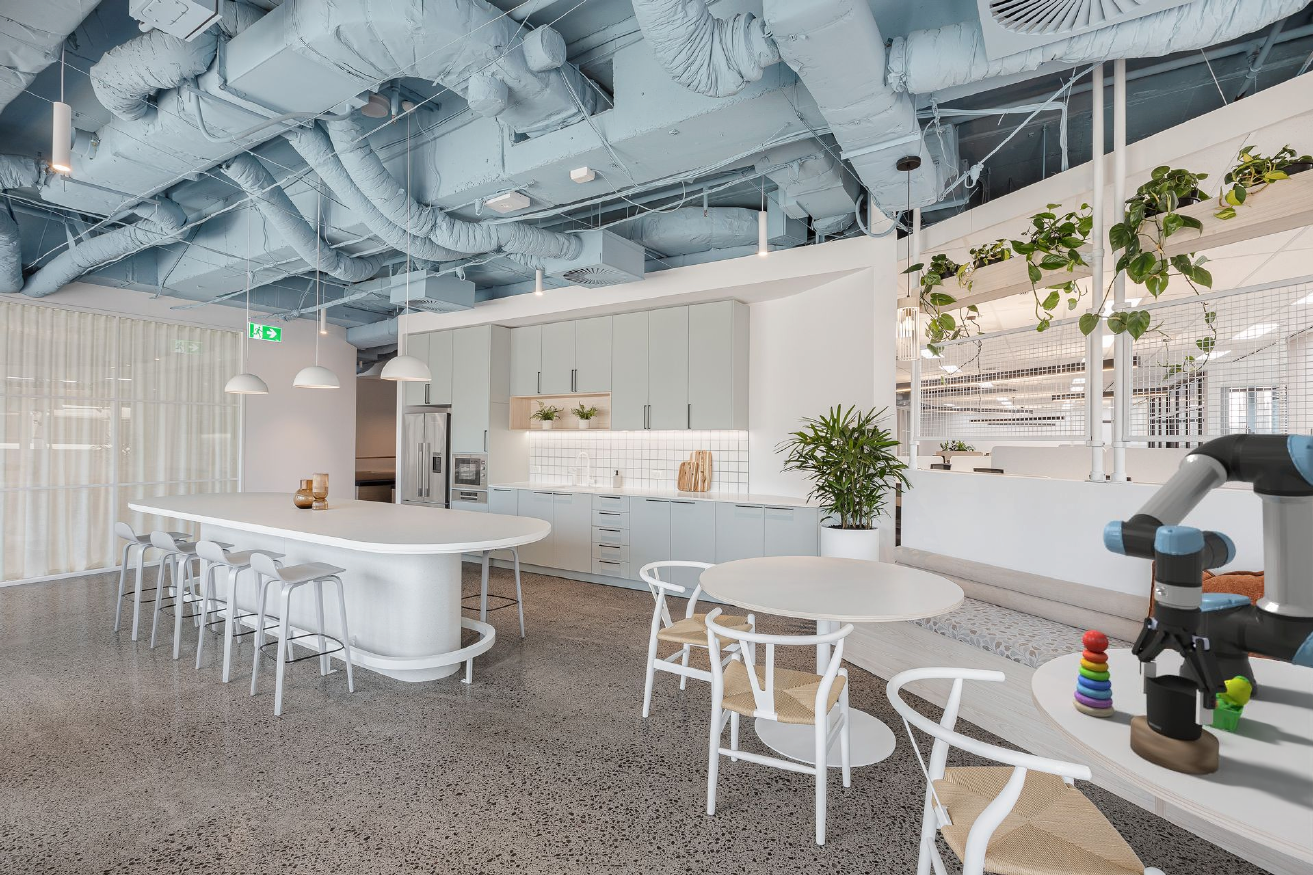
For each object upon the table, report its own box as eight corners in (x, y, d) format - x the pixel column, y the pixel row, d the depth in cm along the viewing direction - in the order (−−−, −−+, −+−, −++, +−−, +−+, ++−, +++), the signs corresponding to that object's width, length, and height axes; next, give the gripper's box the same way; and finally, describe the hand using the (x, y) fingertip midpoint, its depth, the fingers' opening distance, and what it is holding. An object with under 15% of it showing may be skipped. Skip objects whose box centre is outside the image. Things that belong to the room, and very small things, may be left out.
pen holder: (1141, 716, 139) (1143, 669, 138) (1198, 726, 134) (1200, 678, 133) (1148, 735, 130) (1149, 686, 130) (1208, 747, 126) (1210, 696, 125)
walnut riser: (1177, 737, 140) (1177, 714, 139) (1238, 773, 126) (1239, 748, 125) (1113, 738, 139) (1114, 715, 139) (1167, 775, 125) (1168, 749, 125)
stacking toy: (1120, 720, 148) (1123, 638, 147) (1081, 716, 149) (1083, 635, 148) (1104, 704, 155) (1106, 626, 155) (1067, 701, 157) (1069, 624, 156)
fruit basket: (1201, 708, 153) (1203, 661, 153) (1252, 721, 147) (1254, 672, 147) (1194, 724, 145) (1196, 674, 145) (1248, 739, 139) (1250, 686, 139)
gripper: (1113, 587, 143) (1111, 682, 144) (1214, 624, 119) (1211, 738, 119) (1146, 586, 144) (1144, 681, 145) (1254, 623, 119) (1251, 737, 120)
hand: (1174, 707), depth 132 cm, fingers open, 13 cm apart
